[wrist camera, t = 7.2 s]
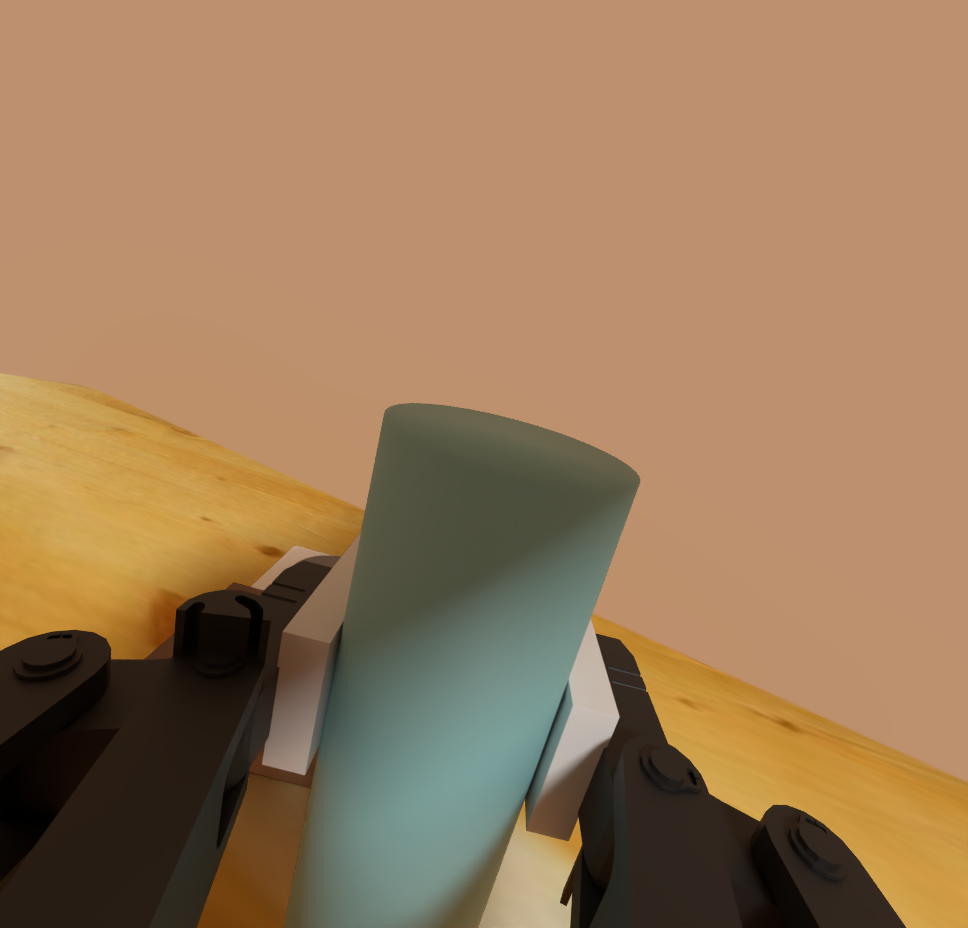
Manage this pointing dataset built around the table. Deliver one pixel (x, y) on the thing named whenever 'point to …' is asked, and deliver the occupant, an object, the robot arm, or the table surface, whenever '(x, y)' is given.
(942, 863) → the table surface
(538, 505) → the teal pin
